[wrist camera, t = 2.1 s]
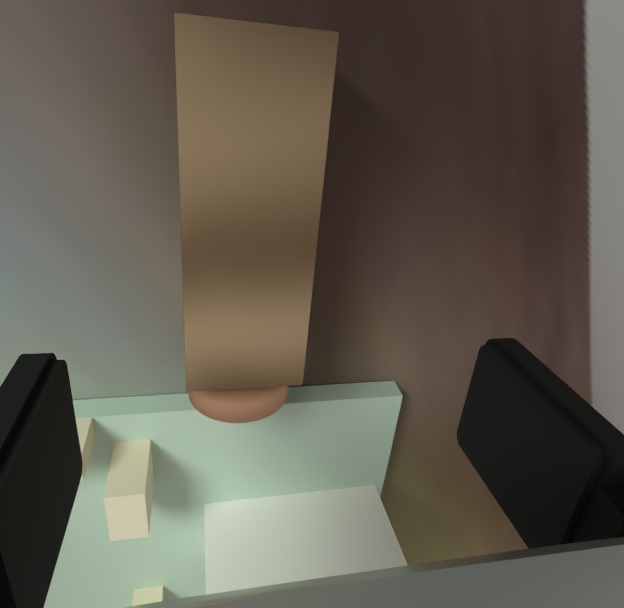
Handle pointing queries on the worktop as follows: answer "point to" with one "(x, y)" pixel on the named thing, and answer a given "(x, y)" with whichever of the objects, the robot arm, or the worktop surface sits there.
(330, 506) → the white rectangular brick
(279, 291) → the brown block
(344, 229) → the worktop surface
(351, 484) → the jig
